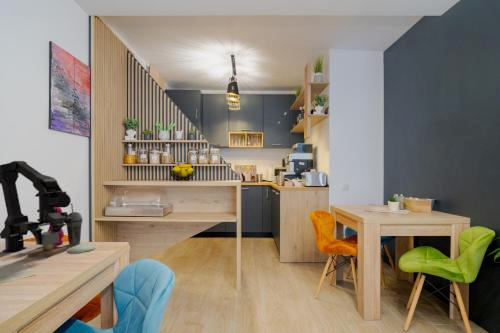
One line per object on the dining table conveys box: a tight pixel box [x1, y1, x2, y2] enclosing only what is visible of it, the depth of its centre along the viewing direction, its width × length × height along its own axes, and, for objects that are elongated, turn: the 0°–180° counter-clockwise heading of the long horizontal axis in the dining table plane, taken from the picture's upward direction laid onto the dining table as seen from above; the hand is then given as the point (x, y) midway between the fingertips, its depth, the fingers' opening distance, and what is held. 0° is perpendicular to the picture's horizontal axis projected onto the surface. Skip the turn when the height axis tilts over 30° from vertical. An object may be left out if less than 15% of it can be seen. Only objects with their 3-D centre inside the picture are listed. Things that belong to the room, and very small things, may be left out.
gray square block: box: [35, 230, 59, 247], centre depth 128 cm, size 6×6×4 cm
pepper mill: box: [46, 207, 65, 247], centre depth 143 cm, size 7×7×20 cm
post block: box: [27, 244, 68, 258], centre depth 128 cm, size 10×10×8 cm
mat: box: [67, 244, 97, 254], centre depth 133 cm, size 11×11×1 cm
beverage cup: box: [65, 202, 83, 246], centre depth 143 cm, size 7×7×20 cm
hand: (47, 242), depth 128 cm, fingers closed on gray square block, 6 cm apart
